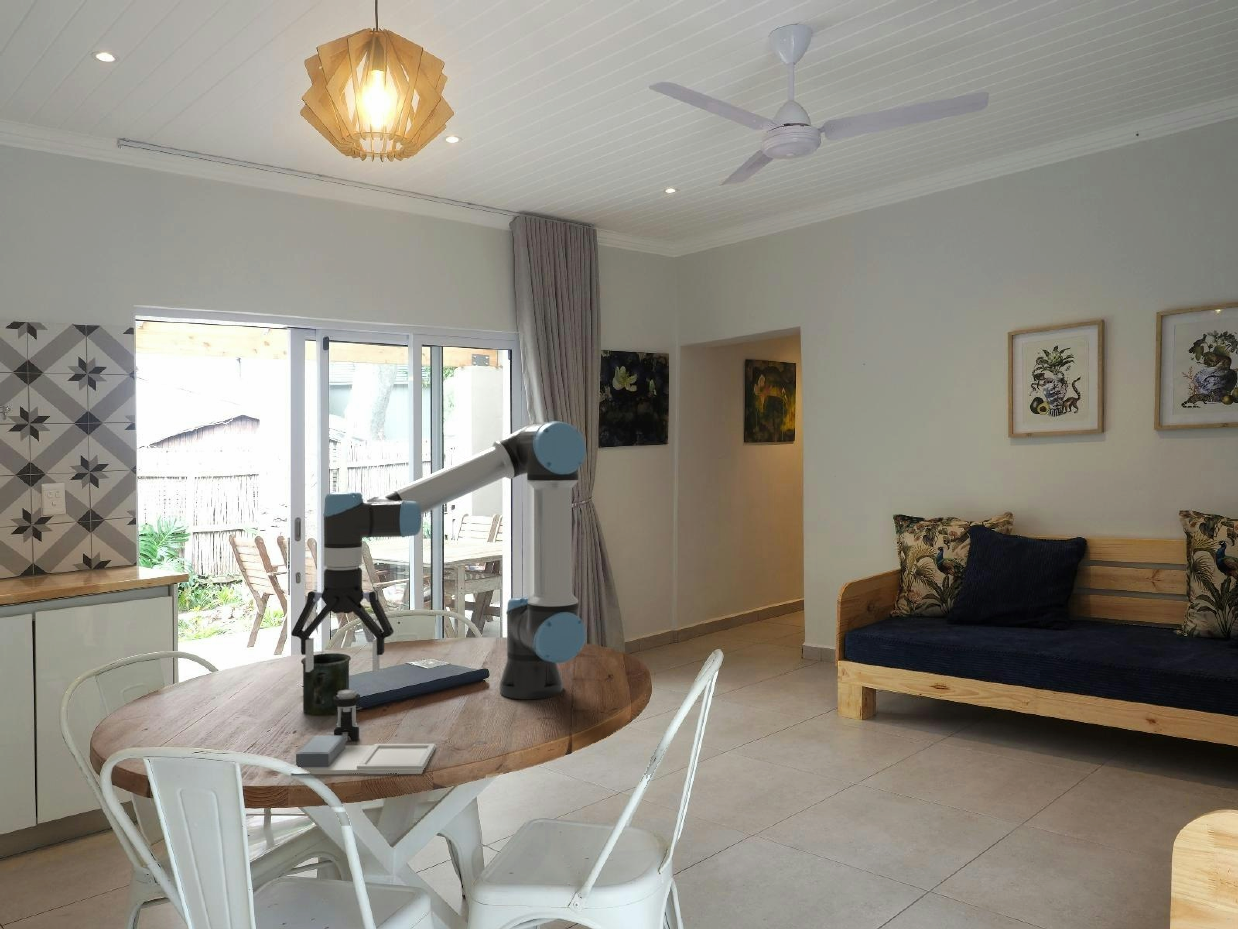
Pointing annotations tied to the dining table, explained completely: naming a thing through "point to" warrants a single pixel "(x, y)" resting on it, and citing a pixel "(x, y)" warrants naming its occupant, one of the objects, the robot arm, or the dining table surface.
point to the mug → (324, 683)
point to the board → (379, 759)
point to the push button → (347, 715)
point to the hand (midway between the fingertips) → (342, 670)
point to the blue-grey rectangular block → (320, 751)
